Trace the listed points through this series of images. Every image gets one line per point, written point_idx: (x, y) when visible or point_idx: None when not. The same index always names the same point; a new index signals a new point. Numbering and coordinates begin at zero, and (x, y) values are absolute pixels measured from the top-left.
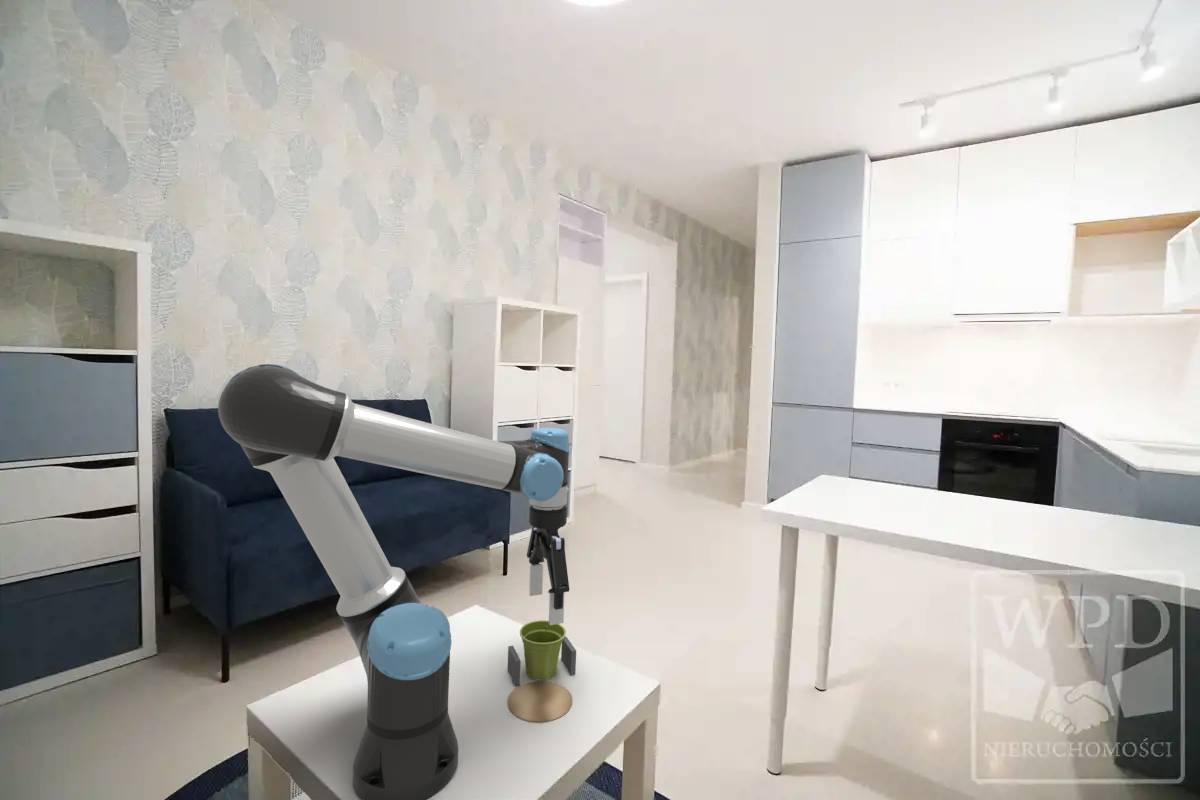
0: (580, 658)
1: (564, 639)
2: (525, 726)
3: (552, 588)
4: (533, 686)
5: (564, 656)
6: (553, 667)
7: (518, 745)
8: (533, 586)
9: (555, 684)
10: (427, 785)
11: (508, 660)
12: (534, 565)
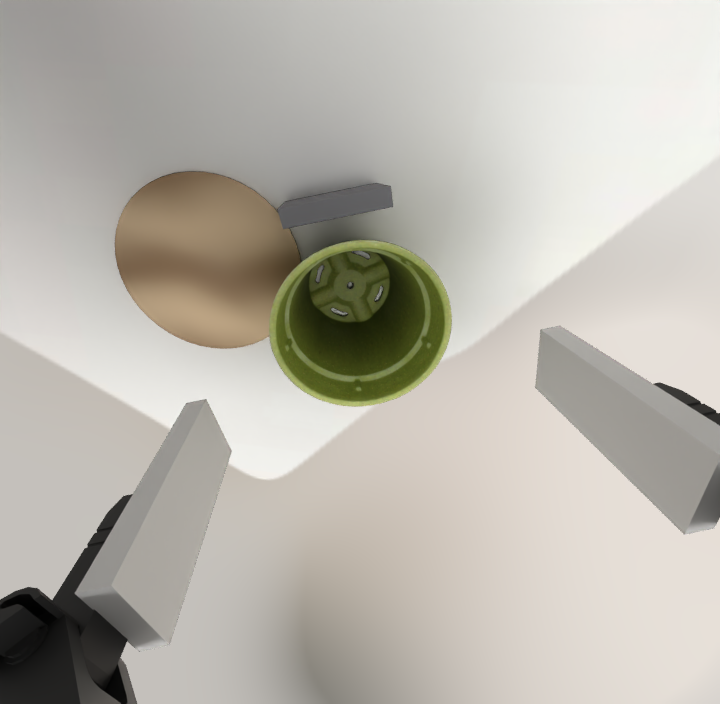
0: None
1: None
2: (95, 219)
3: (9, 658)
4: (274, 257)
5: None
6: (316, 323)
7: (5, 191)
8: (572, 372)
9: None
10: None
11: (372, 186)
12: (715, 482)
